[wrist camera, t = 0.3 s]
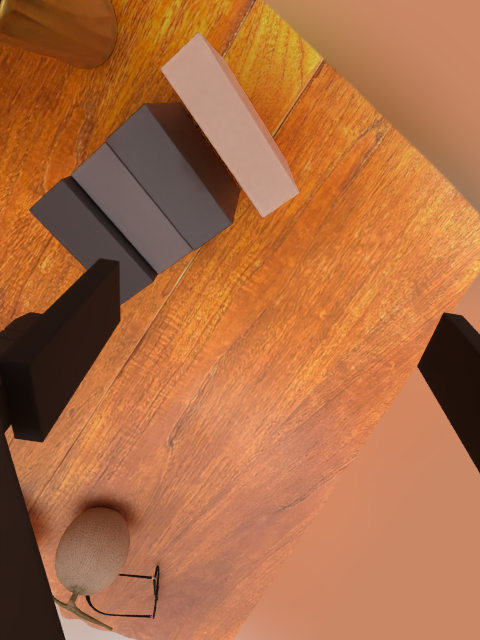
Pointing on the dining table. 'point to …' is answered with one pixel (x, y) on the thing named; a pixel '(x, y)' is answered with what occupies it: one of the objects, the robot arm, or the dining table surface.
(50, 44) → the vase
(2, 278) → the dining table surface
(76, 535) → the fruit
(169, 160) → the grey books
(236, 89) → the white book
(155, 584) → the eyeglasses
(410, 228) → the dining table surface
